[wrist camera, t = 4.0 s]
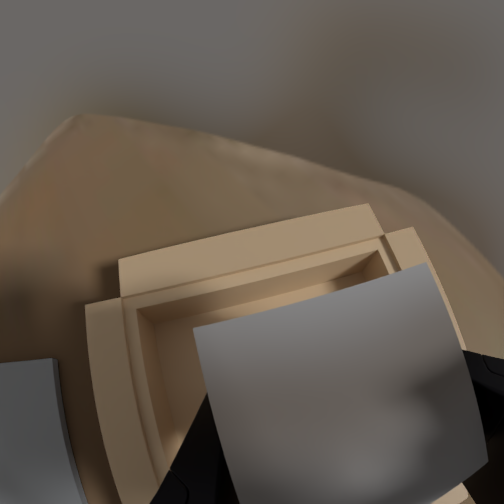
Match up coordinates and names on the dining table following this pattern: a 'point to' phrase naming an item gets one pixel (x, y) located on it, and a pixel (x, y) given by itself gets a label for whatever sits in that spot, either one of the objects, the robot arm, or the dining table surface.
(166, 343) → the carton
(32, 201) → the dining table surface
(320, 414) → the grey rectangular block
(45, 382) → the rubber mat
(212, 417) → the robot arm
